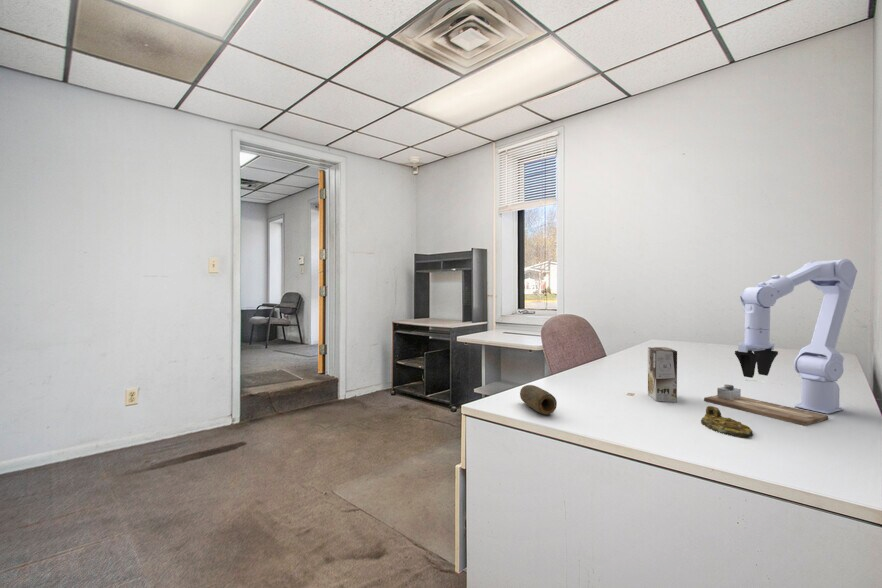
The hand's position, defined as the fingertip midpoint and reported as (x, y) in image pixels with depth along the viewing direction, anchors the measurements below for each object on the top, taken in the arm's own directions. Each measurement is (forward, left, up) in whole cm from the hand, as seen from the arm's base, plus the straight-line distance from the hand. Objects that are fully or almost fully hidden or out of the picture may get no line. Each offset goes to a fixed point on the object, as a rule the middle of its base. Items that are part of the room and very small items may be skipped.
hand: (755, 375), depth 117 cm
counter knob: (-5, -10, -9) cm, 15 cm away
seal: (+21, +4, -11) cm, 24 cm away
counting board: (-5, -1, -11) cm, 12 cm away
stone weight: (+54, -30, -11) cm, 63 cm away
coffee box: (+10, -22, -11) cm, 27 cm away
